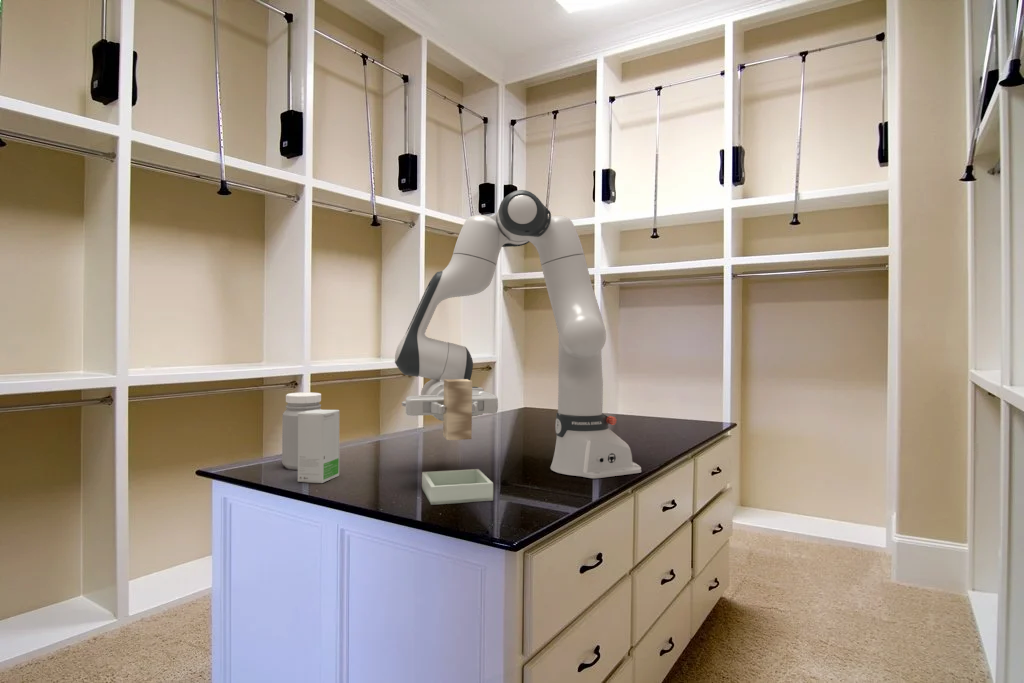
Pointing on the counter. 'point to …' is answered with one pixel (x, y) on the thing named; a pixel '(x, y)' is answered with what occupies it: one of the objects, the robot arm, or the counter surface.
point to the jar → (295, 424)
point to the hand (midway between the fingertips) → (458, 409)
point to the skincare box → (318, 445)
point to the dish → (456, 486)
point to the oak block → (457, 409)
